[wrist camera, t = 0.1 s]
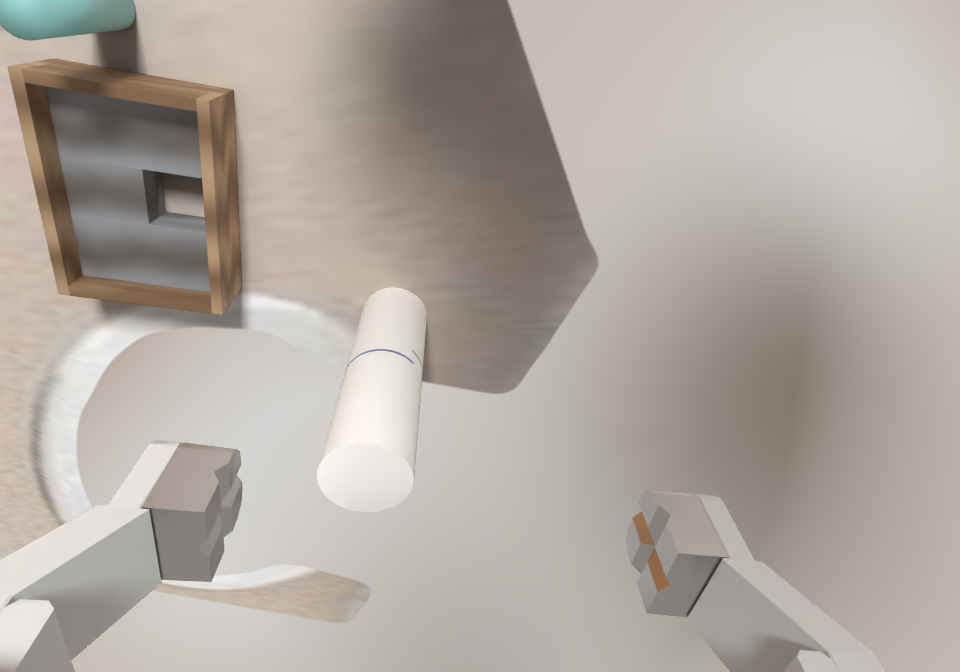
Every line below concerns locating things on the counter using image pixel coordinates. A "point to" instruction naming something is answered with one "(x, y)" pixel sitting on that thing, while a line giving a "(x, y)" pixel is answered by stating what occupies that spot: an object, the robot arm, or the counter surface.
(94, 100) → the box
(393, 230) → the counter surface
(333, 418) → the cylindrical container
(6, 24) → the peg
